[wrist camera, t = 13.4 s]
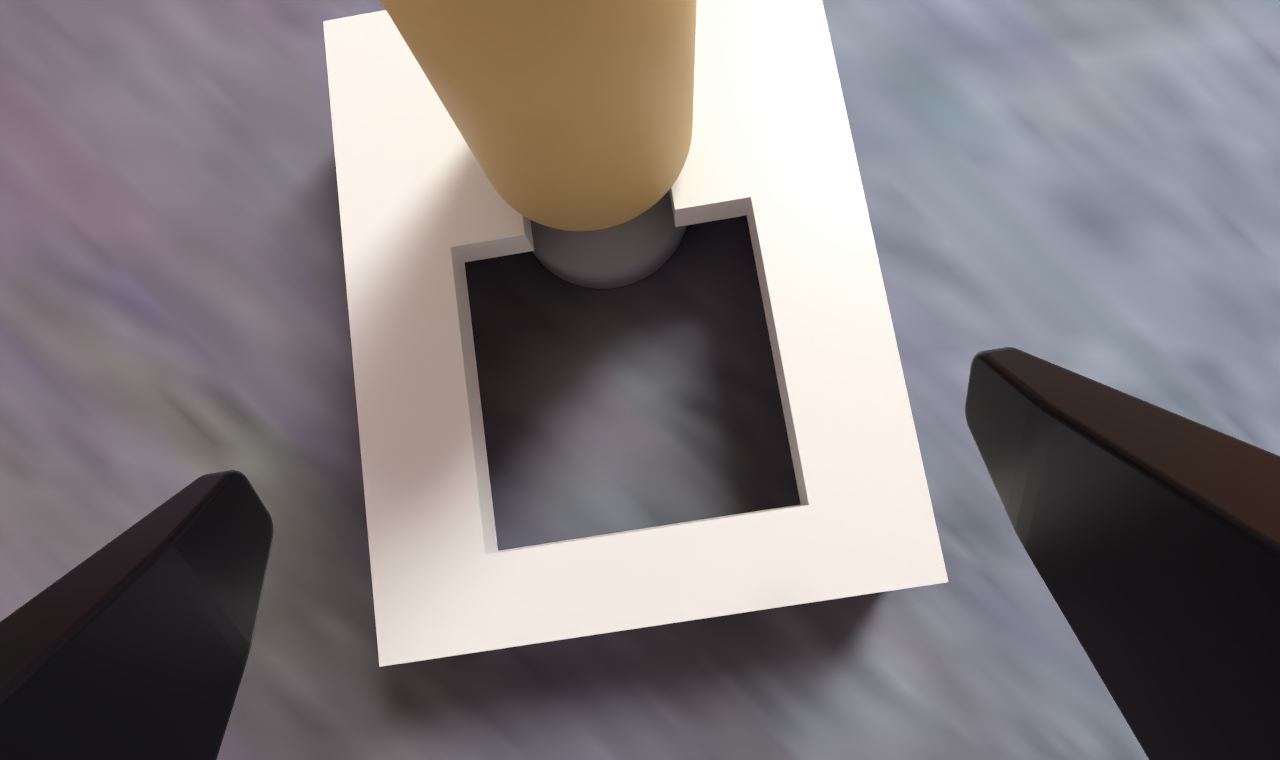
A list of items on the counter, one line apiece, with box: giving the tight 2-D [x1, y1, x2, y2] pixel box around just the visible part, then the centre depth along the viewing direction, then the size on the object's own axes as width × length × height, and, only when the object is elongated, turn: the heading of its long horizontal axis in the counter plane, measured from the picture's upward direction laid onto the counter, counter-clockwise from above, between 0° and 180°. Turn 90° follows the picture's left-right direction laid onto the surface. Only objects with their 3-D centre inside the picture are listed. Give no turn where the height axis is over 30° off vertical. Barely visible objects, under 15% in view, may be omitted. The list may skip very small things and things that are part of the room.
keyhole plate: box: [323, 0, 948, 667], centre depth 17 cm, size 14×11×3 cm
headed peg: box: [380, 0, 697, 289], centre depth 12 cm, size 4×4×13 cm
